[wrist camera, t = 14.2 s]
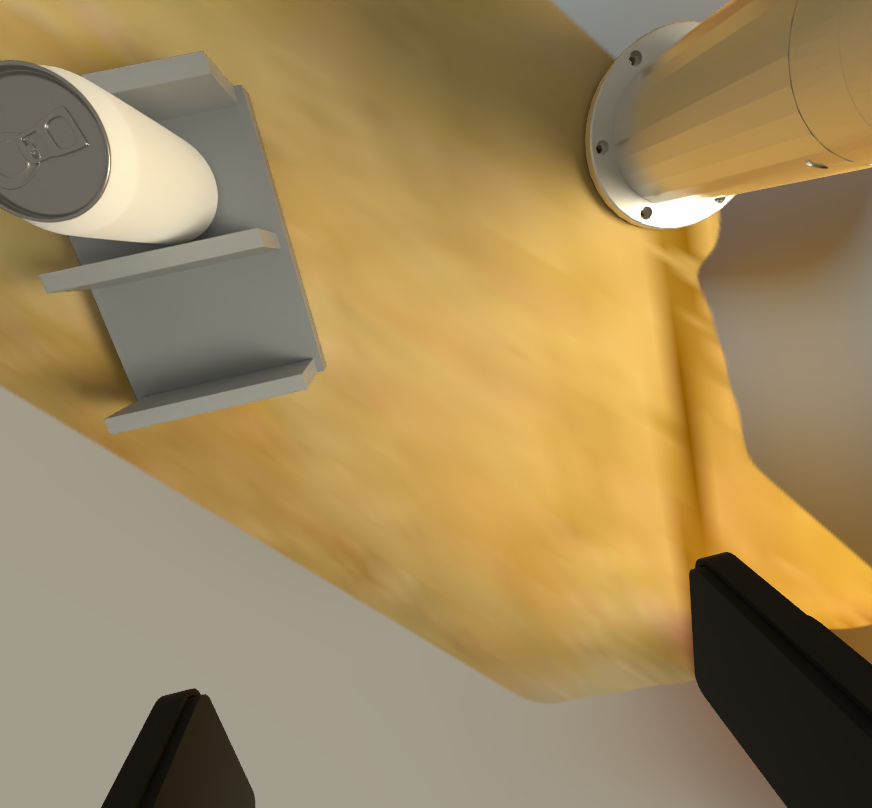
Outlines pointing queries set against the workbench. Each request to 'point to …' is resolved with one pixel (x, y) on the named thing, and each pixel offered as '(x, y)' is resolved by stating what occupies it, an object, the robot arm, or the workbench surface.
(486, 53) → the workbench surface
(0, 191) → the can
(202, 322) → the rack
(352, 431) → the workbench surface
